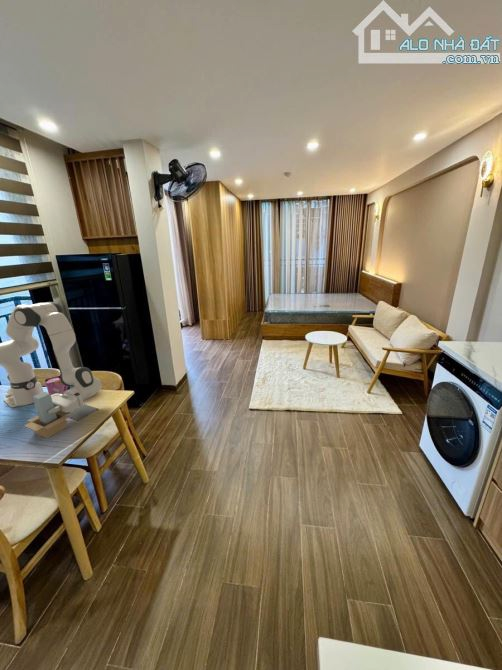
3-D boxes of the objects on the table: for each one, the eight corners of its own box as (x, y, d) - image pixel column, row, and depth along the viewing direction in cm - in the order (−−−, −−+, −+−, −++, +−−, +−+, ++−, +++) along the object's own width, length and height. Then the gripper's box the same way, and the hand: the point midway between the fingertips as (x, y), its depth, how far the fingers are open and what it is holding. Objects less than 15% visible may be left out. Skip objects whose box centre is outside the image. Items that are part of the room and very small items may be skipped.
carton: (24, 435, 127) (20, 424, 125) (58, 417, 141) (55, 406, 139) (44, 444, 121) (40, 432, 119) (77, 424, 135) (74, 413, 133)
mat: (64, 416, 142) (63, 415, 142) (84, 405, 152) (84, 404, 152) (78, 421, 137) (78, 420, 137) (98, 409, 148) (98, 408, 148)
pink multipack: (93, 385, 175) (89, 367, 171) (96, 390, 169) (92, 371, 165) (49, 398, 160) (44, 379, 156) (51, 403, 154) (45, 383, 150)
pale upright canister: (43, 431, 129) (32, 396, 123) (53, 425, 134) (43, 391, 128) (49, 433, 128) (38, 398, 121) (59, 427, 132) (50, 393, 126)
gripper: (58, 388, 141) (29, 400, 129) (83, 395, 134) (55, 409, 122) (60, 398, 143) (32, 411, 131) (85, 406, 136) (58, 421, 124)
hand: (43, 410), depth 126 cm, fingers closed on pale upright canister, 5 cm apart
